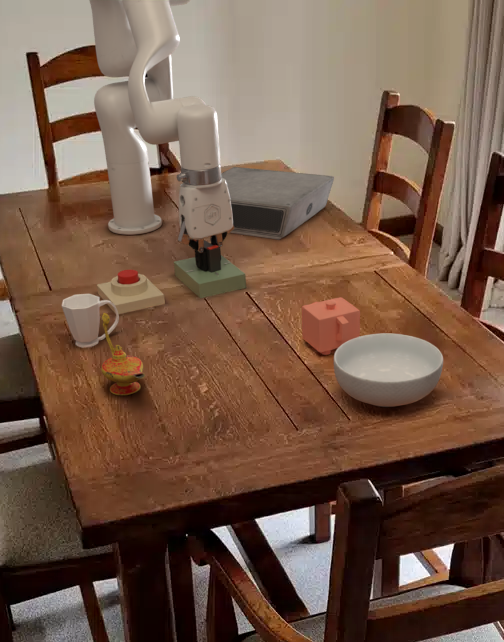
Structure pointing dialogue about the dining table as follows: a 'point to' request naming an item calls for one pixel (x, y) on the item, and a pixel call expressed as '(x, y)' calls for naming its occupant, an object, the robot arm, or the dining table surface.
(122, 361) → the magic lamp
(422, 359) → the cereal bowl
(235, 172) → the speaker
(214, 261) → the red-striped black box
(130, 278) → the power button
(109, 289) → the switch box
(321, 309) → the pink cube teapot
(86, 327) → the cup
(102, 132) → the robot arm
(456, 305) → the dining table surface
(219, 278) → the panel
